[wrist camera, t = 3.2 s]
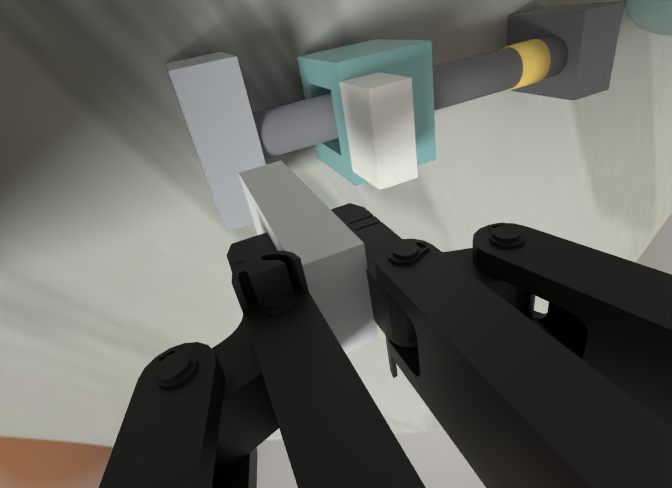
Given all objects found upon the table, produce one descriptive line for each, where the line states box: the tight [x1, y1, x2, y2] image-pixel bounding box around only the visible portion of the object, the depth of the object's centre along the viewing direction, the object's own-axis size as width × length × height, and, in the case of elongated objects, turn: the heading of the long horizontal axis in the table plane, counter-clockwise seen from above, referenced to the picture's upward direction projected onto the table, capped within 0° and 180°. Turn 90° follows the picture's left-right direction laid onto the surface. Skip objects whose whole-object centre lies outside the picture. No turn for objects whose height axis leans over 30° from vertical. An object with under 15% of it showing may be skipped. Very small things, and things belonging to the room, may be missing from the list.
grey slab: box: [165, 52, 266, 232], centre depth 22 cm, size 3×8×5 cm, turn 11°
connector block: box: [508, 2, 624, 100], centre depth 27 cm, size 3×5×6 cm, turn 11°
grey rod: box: [252, 36, 568, 159], centre depth 23 cm, size 21×3×3 cm, turn 101°
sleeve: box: [297, 39, 436, 190], centre depth 21 cm, size 5×6×9 cm
